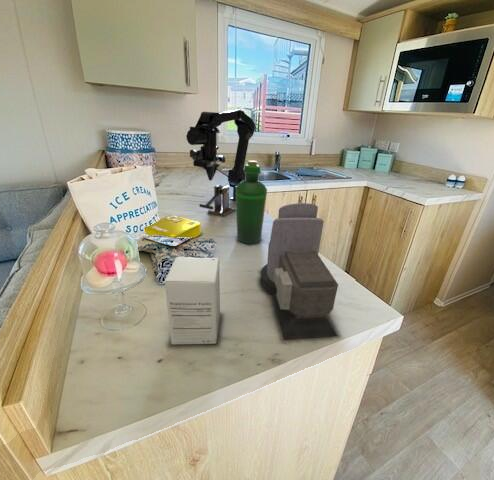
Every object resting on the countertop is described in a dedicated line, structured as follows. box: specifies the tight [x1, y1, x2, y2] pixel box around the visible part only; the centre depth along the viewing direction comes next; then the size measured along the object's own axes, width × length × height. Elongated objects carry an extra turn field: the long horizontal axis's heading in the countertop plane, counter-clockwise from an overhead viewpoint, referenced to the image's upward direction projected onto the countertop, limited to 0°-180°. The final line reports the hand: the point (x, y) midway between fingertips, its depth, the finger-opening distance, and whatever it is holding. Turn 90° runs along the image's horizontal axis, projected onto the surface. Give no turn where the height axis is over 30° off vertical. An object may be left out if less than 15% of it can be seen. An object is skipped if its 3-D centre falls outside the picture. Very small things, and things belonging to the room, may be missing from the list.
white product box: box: [164, 256, 221, 345], centre depth 55 cm, size 9×9×15 cm
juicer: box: [260, 202, 339, 341], centre depth 66 cm, size 30×16×24 cm, turn 10°
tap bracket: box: [207, 184, 236, 217], centre depth 123 cm, size 10×8×12 cm
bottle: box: [235, 159, 268, 245], centre depth 95 cm, size 11×11×28 cm
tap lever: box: [198, 185, 225, 210], centre depth 117 cm, size 15×6×2 cm, turn 159°
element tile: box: [144, 214, 202, 239], centre depth 97 cm, size 15×15×5 cm
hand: (210, 180), depth 124 cm, fingers closed
